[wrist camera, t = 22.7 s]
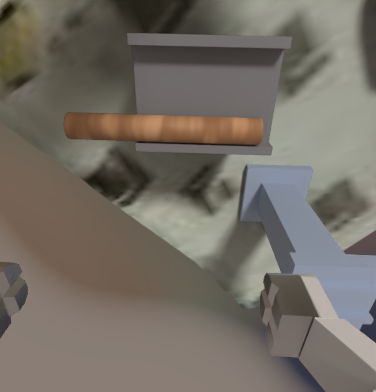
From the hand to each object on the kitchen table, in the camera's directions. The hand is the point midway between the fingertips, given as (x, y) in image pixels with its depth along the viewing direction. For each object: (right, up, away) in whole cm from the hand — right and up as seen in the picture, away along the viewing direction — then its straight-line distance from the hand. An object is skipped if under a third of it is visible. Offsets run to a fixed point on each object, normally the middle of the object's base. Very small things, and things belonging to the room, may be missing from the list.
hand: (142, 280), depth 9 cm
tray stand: (+4, +21, +35) cm, 41 cm away
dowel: (-1, +11, +22) cm, 24 cm away
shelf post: (+19, +3, +44) cm, 48 cm away
